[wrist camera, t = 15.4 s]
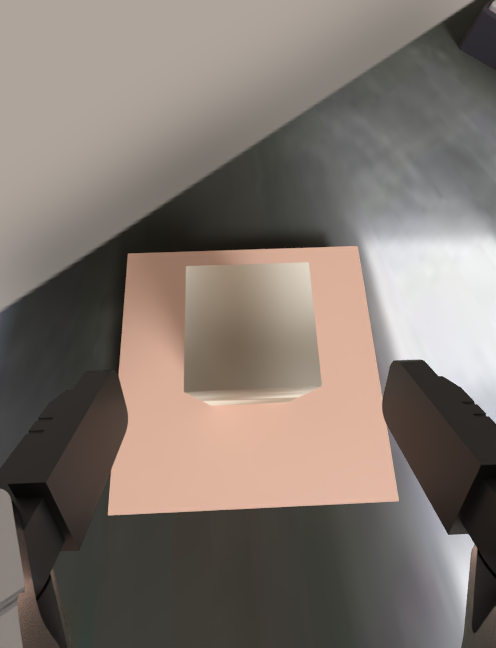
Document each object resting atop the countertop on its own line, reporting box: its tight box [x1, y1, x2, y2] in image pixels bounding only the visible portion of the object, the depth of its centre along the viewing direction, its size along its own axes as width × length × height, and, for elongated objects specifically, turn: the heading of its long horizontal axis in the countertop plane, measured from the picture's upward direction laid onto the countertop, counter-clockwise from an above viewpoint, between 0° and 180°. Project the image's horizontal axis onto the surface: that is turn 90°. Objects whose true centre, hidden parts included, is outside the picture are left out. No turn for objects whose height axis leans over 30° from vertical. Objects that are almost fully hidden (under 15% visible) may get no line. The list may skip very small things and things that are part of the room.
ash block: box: [184, 262, 322, 406], centre depth 16 cm, size 5×5×9 cm
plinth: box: [108, 246, 399, 515], centre depth 21 cm, size 16×16×3 cm
